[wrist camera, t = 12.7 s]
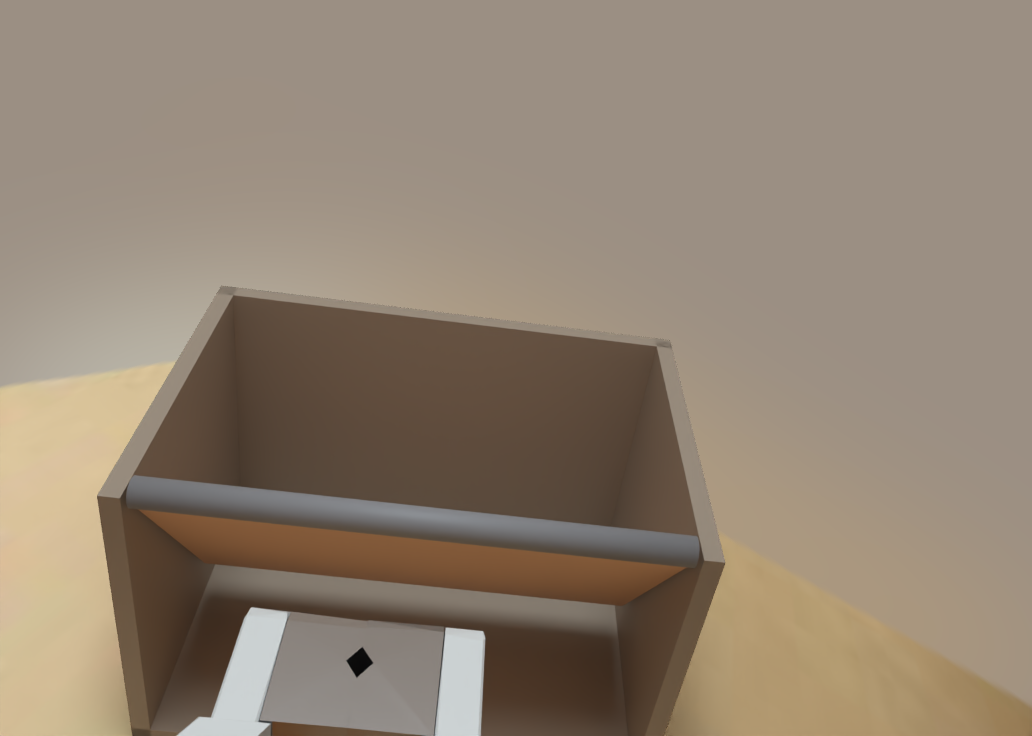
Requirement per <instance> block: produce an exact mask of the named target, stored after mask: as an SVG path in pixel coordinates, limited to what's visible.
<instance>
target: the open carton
mask: <svg viewBox="0 0 1032 736" xmlns="http://www.w3.org/2000/svg"><path fill="white" fill-rule="evenodd" d="M134 475H137V476H146V477H156V478H165V479H174V480H183V481H193V482H202V483H211V484H220V485H230V486H239V487H248V488H257V489H267V490H276V491H285V492H294V493H304V494H313V495H322V496H331V497H341V498H350V499H359V500H368V501H378V502H387V503H396V504H405V505H415V506H424V507H433V508H442V509H452V510H461V511H470V512H479V513H489V514H498V515H507V516H516V517H526V518H535V519H544V520H553V521H563V522H572V523H581V524H590V525H600V526H609V527H618V528H627V529H637V530H646V531H655V532H664V533H674V534H683V535H692V536H697V537H698V540H699V559H698V563H697V566H696V567H695V568H685V569H683V570H682V571H680V572H678V573H677V574H675V575H673V576H672V577H670V578H668V579H667V580H665V581H663V582H662V583H660V584H658V585H657V586H655V587H653V588H652V589H650V590H648V591H647V592H645V593H643V594H642V595H640V596H638V597H637V598H635V599H633V600H632V601H630V602H628V603H627V604H625V605H623V606H616V605H606V604H596V603H586V602H577V601H567V600H557V599H548V598H538V597H528V596H518V595H509V594H499V593H489V592H479V591H470V590H460V589H450V588H440V587H431V586H421V585H411V584H401V583H392V582H382V581H372V580H362V579H353V578H343V577H333V576H324V575H314V574H304V573H294V572H285V571H275V570H265V569H255V568H246V567H236V566H226V565H216V564H207V563H204V562H203V561H202V560H200V559H199V558H198V557H197V556H195V555H194V554H193V553H192V552H190V551H189V550H188V549H187V548H185V547H184V546H183V545H182V544H180V543H179V542H178V541H177V540H175V539H174V538H173V537H172V536H170V535H169V534H168V533H167V532H166V531H164V530H163V529H162V528H161V527H159V526H158V525H157V524H156V523H154V522H153V521H152V520H151V519H149V518H148V517H147V516H146V515H144V514H143V513H142V512H141V511H139V510H138V509H129V508H128V507H127V504H126V494H127V488H128V485H129V482H130V480H131V478H132V477H133V476H134ZM97 499H98V506H99V512H100V519H101V526H102V533H103V539H104V546H105V553H106V560H107V566H108V573H109V580H110V587H111V593H112V600H113V607H114V614H115V620H116V627H117V634H118V641H119V647H120V654H121V661H122V668H123V674H124V681H125V688H126V695H127V701H128V708H129V715H130V722H131V728H132V735H133V736H177V735H178V734H179V733H180V732H181V731H182V730H184V729H185V728H186V727H187V726H188V725H190V724H191V723H192V722H193V721H194V720H195V719H197V718H198V717H211V716H212V713H213V710H214V707H215V704H216V701H217V698H218V695H219V692H220V689H221V686H222V683H223V680H224V677H225V674H226V671H227V668H228V665H229V662H230V659H231V656H232V653H233V650H234V647H235V644H236V641H237V638H238V635H239V632H240V629H241V626H242V623H243V620H244V618H245V616H246V615H247V613H248V611H249V610H250V608H251V607H253V608H262V609H271V610H279V611H288V612H299V613H306V614H314V615H322V616H330V617H338V618H346V619H354V620H362V621H368V620H373V621H385V622H396V623H407V624H419V625H430V626H442V627H444V630H445V628H456V629H466V630H476V631H483V632H484V635H485V656H484V676H483V697H482V718H481V736H664V734H665V731H666V728H667V725H668V722H669V720H670V717H671V714H672V711H673V708H674V706H675V703H676V700H677V697H678V694H679V692H680V689H681V686H682V683H683V680H684V677H685V675H686V672H687V669H688V666H689V663H690V661H691V658H692V655H693V652H694V649H695V647H696V644H697V641H698V638H699V635H700V633H701V630H702V627H703V624H704V621H705V618H706V616H707V613H708V610H709V607H710V604H711V602H712V599H713V596H714V593H715V590H716V588H717V585H718V582H719V579H720V576H721V574H722V571H723V568H724V565H725V559H724V555H723V551H722V547H721V543H720V539H719V535H718V531H717V527H716V523H715V519H714V515H713V511H712V507H711V503H710V499H709V495H708V491H707V487H706V483H705V479H704V475H703V471H702V467H701V463H700V459H699V455H698V451H697V447H696V442H695V438H694V435H693V431H692V426H691V422H690V418H689V414H688V411H687V406H686V402H685V398H684V394H683V390H682V386H681V382H680V379H679V374H678V370H677V366H676V362H675V358H674V354H673V350H672V346H671V342H670V340H664V339H656V338H647V337H640V336H630V335H623V334H614V333H606V332H598V331H589V330H581V329H573V328H566V327H557V326H548V325H540V324H532V323H524V322H516V321H508V320H500V319H491V318H483V317H475V316H467V315H459V314H449V313H442V312H434V311H426V310H417V309H409V308H401V307H393V306H384V305H376V304H368V303H360V302H351V301H343V300H335V299H327V298H319V297H310V296H302V295H294V294H286V293H278V292H269V291H261V290H253V289H244V288H236V287H228V286H221V287H220V289H219V291H218V292H217V294H216V296H215V297H214V299H213V301H212V302H211V304H210V306H209V308H208V309H207V311H206V313H205V314H204V316H203V318H202V319H201V321H200V323H199V324H198V326H197V328H196V329H195V331H194V333H193V335H192V336H191V338H190V340H189V341H188V343H187V345H186V346H185V348H184V350H183V352H182V353H181V355H180V357H179V358H178V360H177V362H176V363H175V365H174V367H173V368H172V370H171V372H170V373H169V375H168V377H167V378H166V380H165V382H164V384H163V385H162V387H161V389H160V390H159V392H158V394H157V395H156V397H155V399H154V400H153V402H152V404H151V406H150V407H149V409H148V411H147V412H146V414H145V416H144V417H143V419H142V421H141V422H140V424H139V426H138V427H137V429H136V431H135V433H134V434H133V436H132V438H131V439H130V441H129V443H128V444H127V446H126V448H125V449H124V451H123V453H122V455H121V456H120V458H119V460H118V461H117V463H116V465H115V466H114V468H113V470H112V471H111V473H110V475H109V476H108V478H107V480H106V482H105V483H104V485H103V487H102V488H101V490H100V492H99V493H98V495H97Z"/></svg>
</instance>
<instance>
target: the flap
mask: <svg viewBox="0 0 1032 736" xmlns="http://www.w3.org/2000/svg"><path fill="white" fill-rule="evenodd" d="M126 504H127V507H128V508H129V509H138V510H139V511H141V512H142V513H143V514H144V515H146V516H147V517H148V518H149V519H151V520H152V521H153V522H154V523H156V524H157V525H158V526H159V527H161V528H162V529H163V530H164V531H166V532H167V533H168V534H169V535H170V536H172V537H173V538H174V539H175V540H177V541H178V542H179V543H180V544H182V545H183V546H184V547H185V548H187V549H188V550H189V551H190V552H192V553H193V554H194V555H195V556H197V557H198V558H199V559H200V560H202V561H203V562H204V563H207V564H216V565H226V566H236V567H246V568H255V569H265V570H275V571H285V572H294V573H304V574H314V575H324V576H333V577H343V578H353V579H362V580H372V581H382V582H392V583H401V584H411V585H421V586H431V587H440V588H450V589H460V590H470V591H479V592H489V593H499V594H509V595H518V596H528V597H538V598H548V599H557V600H567V601H577V602H586V603H596V604H606V605H616V606H623V605H625V604H627V603H628V602H630V601H632V600H633V599H635V598H637V597H638V596H640V595H642V594H643V593H645V592H647V591H648V590H650V589H652V588H653V587H655V586H657V585H658V584H660V583H662V582H663V581H665V580H667V579H668V578H670V577H672V576H673V575H675V574H677V573H678V572H680V571H682V570H683V569H685V568H695V567H696V566H697V563H698V559H699V540H698V537H697V536H692V535H683V534H674V533H664V532H655V531H646V530H637V529H627V528H618V527H609V526H600V525H590V524H581V523H572V522H563V521H553V520H544V519H535V518H526V517H516V516H507V515H498V514H489V513H479V512H470V511H461V510H452V509H442V508H433V507H424V506H415V505H405V504H396V503H387V502H378V501H368V500H359V499H350V498H341V497H331V496H322V495H313V494H304V493H294V492H285V491H276V490H267V489H257V488H248V487H239V486H230V485H220V484H211V483H202V482H193V481H183V480H174V479H165V478H156V477H146V476H137V475H134V476H133V477H132V478H131V480H130V482H129V485H128V488H127V494H126Z"/></svg>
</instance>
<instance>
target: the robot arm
mask: <svg viewBox="0 0 1032 736" xmlns="http://www.w3.org/2000/svg"><path fill="white" fill-rule="evenodd" d="M484 656H485V635H484V632H483V631H476V630H466V629H456V628H445V630H444V627H442V626H430V625H419V624H407V623H396V622H385V621H373V620H368V621H362V620H354V619H346V618H338V617H330V616H322V615H314V614H306V613H299V612H288V611H279V610H271V609H262V608H253V607H251V608H250V610H249V611H248V613H247V615H246V616H245V618H244V620H243V623H242V626H241V629H240V632H239V635H238V638H237V641H236V644H235V647H234V650H233V653H232V656H231V659H230V662H229V665H228V668H227V671H226V674H225V677H224V680H223V683H222V686H221V689H220V692H219V695H218V698H217V701H216V704H215V707H214V710H213V713H212V716H211V717H198V718H197V719H195V720H194V721H193V722H192V723H191V724H190V725H188V726H187V727H186V728H185V729H184V730H182V731H181V732H180V733H179V734H178V735H177V736H481V718H482V697H483V676H484Z"/></svg>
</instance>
